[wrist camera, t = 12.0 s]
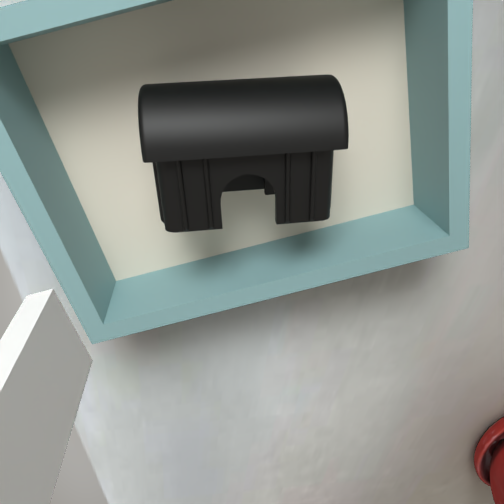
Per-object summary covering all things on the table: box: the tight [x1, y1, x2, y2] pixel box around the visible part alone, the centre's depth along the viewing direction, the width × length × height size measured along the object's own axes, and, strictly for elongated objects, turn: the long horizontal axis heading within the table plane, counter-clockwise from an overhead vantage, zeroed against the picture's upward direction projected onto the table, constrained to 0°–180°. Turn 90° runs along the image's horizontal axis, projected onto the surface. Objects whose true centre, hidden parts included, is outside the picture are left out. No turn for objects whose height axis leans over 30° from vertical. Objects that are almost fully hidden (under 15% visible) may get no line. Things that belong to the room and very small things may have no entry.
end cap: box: [138, 74, 349, 233], centre depth 24 cm, size 10×7×7 cm
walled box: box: [0, 0, 473, 344], centre depth 26 cm, size 24×18×6 cm
